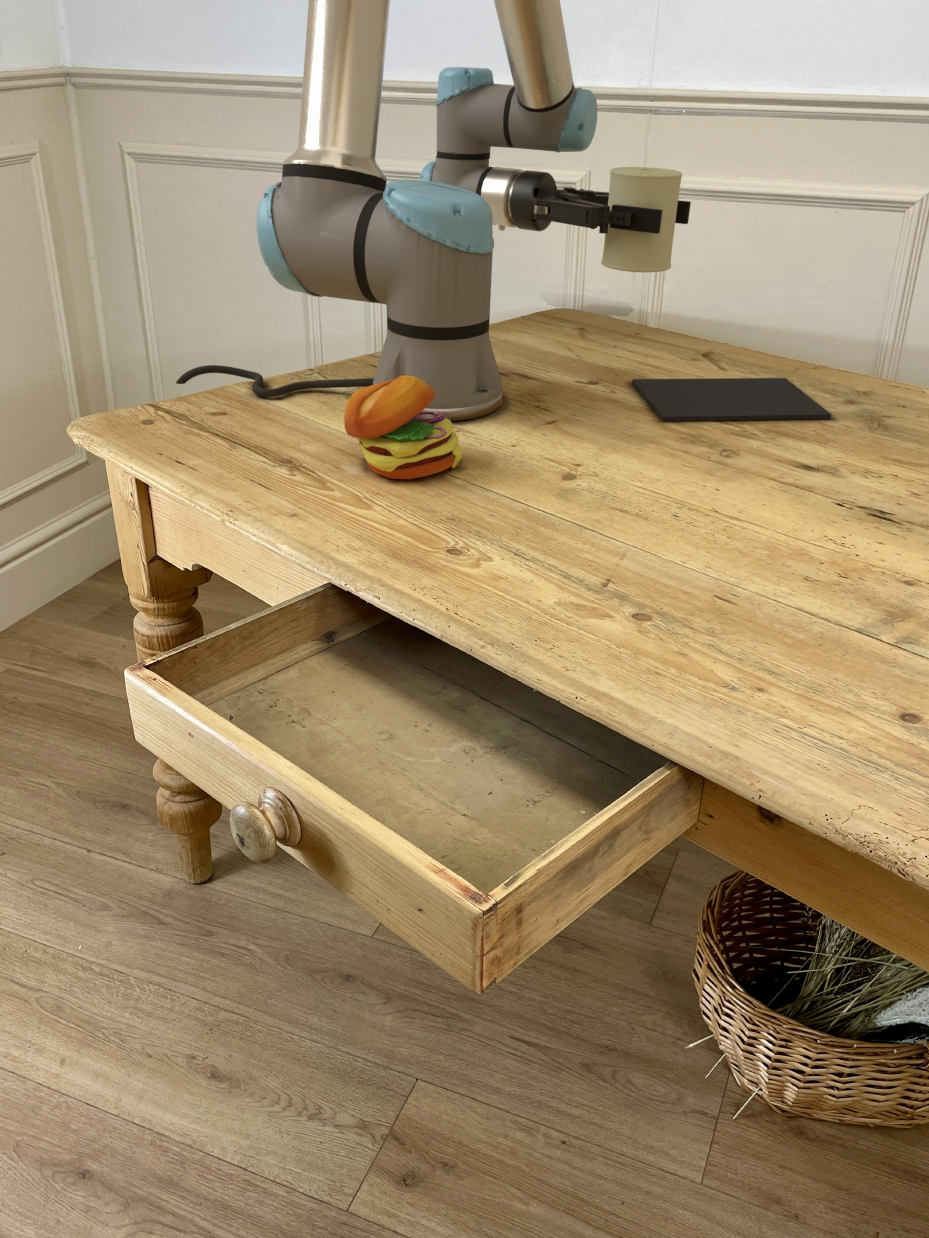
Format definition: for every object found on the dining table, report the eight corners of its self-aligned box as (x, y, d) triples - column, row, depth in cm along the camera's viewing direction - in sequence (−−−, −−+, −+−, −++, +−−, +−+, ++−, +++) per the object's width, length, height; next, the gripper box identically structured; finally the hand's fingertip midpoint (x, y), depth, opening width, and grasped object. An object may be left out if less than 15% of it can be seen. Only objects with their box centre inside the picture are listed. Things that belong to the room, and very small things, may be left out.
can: (599, 270, 129) (609, 169, 123) (602, 257, 137) (611, 161, 131) (671, 274, 128) (684, 173, 122) (670, 261, 136) (682, 165, 130)
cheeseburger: (464, 485, 95) (440, 386, 90) (357, 506, 96) (327, 410, 91) (465, 446, 104) (444, 353, 99) (367, 466, 105) (340, 375, 100)
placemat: (662, 421, 113) (663, 416, 113) (631, 383, 125) (632, 379, 124) (830, 419, 115) (831, 414, 115) (784, 382, 127) (785, 377, 127)
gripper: (555, 219, 147) (700, 237, 137) (479, 238, 131) (636, 260, 121) (559, 163, 143) (708, 178, 133) (481, 177, 127) (644, 194, 117)
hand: (674, 217), depth 127 cm, fingers closed on can, 9 cm apart
